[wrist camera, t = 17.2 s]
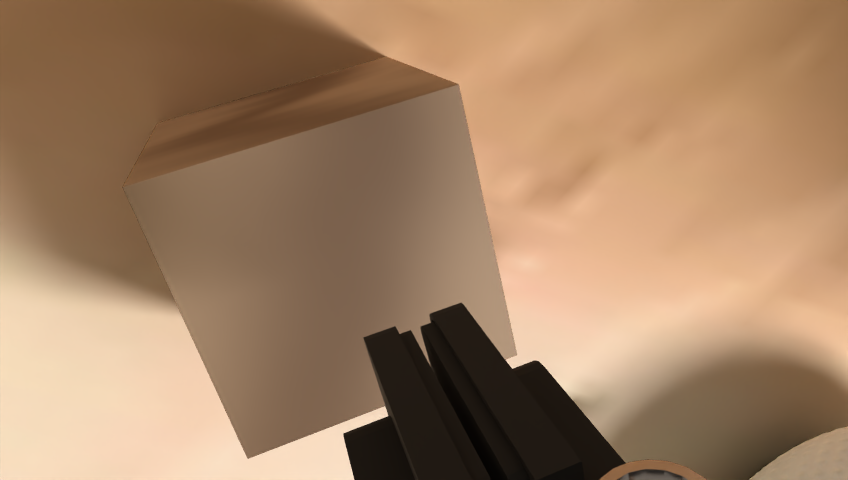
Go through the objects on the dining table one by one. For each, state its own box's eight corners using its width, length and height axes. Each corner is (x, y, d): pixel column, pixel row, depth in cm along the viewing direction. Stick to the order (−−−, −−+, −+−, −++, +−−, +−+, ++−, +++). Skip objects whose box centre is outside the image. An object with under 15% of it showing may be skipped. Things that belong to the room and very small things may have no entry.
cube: (122, 186, 12) (157, 122, 19) (247, 458, 15) (241, 323, 22) (458, 84, 14) (385, 56, 20) (516, 355, 16) (436, 255, 23)
